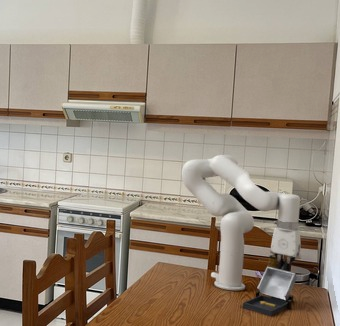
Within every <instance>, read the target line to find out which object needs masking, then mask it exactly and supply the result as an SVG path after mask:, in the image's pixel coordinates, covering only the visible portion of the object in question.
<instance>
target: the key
mask: <svg viewBox="0 0 340 326" xmlns="http://www.w3.org/2000/svg"><path fill="white" fill-rule="evenodd" d="M260 303H261V304H265V305H269V306H273V307H275V306H276V305H274V304H270V303H266V302H264V301H260Z"/></svg>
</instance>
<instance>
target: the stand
mask: <svg viewBox="0 0 340 326" xmlns="http://www.w3.org/2000/svg"><path fill="white" fill-rule="evenodd" d="M254 295H255V296H254V298H255V297H257V296H260V295H261V293H259V291H258V290H257V291H256V292H255V294H254ZM271 298H274V297H271ZM274 299H278V298H274ZM278 300H281V299H278ZM281 301H285V300H281ZM285 302H288V303H287V308H286V310H291V309H292V303H294V295H293V294H290V295H289V298H288V300H286V301H285Z"/></svg>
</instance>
